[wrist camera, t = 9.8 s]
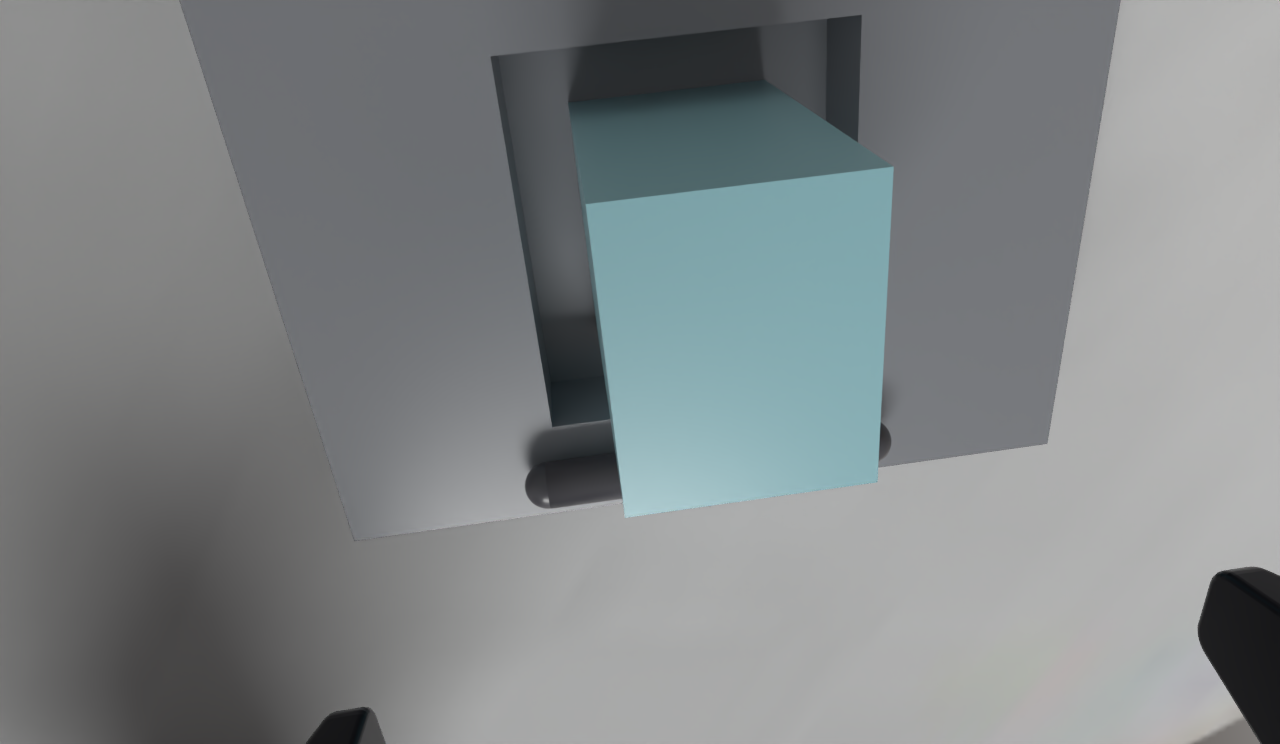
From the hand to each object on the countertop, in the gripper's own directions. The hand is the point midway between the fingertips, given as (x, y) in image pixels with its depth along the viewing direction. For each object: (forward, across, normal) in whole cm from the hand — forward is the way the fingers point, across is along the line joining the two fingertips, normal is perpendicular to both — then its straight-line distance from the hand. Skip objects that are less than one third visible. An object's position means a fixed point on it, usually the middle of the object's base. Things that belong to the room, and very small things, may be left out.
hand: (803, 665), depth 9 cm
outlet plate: (+12, 0, -2) cm, 12 cm away
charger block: (+11, 0, -2) cm, 11 cm away
